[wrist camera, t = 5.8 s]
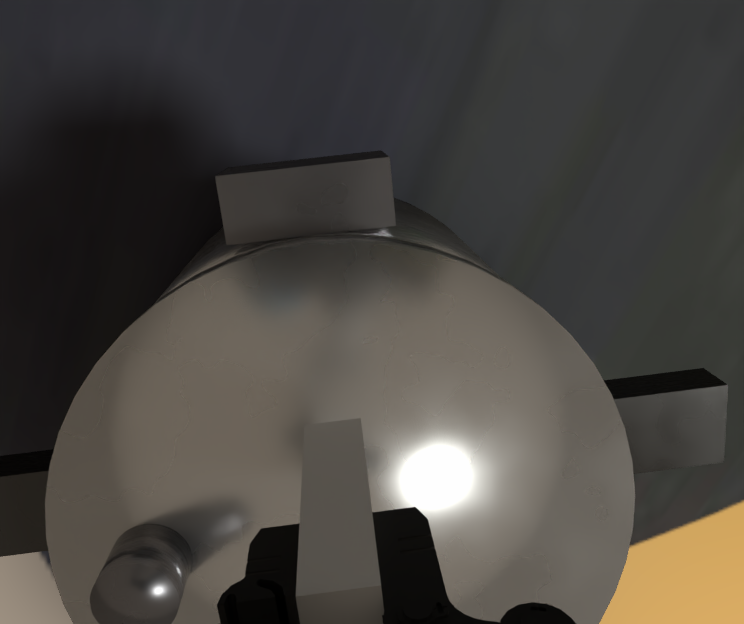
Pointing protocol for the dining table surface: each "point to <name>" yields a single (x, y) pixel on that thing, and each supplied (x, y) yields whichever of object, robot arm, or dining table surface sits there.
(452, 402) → the pot lid
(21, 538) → the steel pot
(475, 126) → the dining table surface
